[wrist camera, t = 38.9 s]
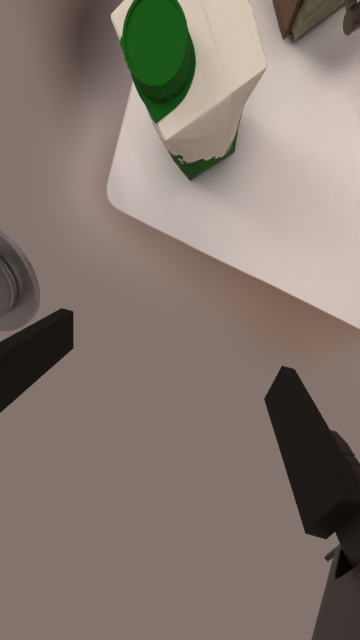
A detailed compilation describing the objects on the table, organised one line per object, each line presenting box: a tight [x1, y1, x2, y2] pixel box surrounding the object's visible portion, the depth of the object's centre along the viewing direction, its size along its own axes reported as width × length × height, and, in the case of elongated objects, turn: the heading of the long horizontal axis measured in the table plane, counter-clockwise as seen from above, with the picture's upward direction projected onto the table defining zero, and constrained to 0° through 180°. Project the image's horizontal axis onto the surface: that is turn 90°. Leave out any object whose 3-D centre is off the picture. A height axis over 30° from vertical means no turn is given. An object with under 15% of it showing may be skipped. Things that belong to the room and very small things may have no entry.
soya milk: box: [111, 0, 267, 180], centre depth 21 cm, size 9×9×20 cm
